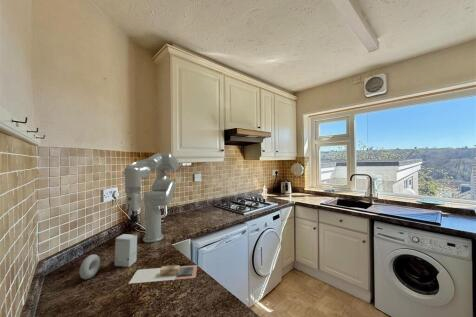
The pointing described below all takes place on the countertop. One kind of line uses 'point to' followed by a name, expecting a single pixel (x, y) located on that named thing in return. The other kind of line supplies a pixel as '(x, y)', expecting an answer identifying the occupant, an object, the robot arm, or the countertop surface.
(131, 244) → the skincare box
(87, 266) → the donut
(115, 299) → the countertop surface
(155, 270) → the board
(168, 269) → the turner
